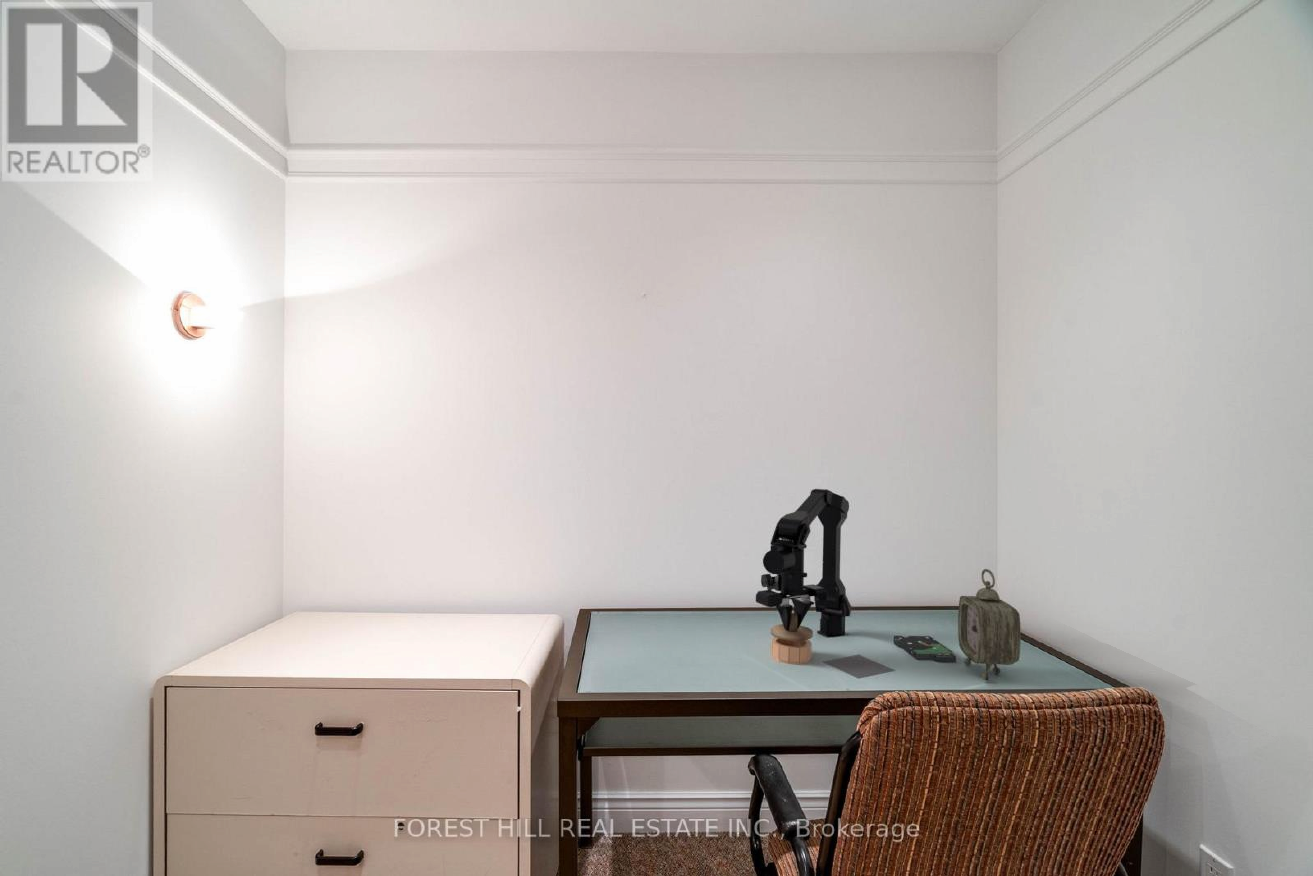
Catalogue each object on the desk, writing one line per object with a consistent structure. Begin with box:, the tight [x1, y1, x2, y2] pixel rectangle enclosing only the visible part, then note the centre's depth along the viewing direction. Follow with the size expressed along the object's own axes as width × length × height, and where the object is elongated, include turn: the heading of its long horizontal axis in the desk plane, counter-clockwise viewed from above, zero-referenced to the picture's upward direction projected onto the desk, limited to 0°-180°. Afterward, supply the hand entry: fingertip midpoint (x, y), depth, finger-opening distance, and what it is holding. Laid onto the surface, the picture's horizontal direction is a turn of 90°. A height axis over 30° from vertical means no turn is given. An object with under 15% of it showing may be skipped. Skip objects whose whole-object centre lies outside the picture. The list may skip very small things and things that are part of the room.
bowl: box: [770, 636, 813, 665], centre depth 162 cm, size 10×10×4 cm
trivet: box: [822, 654, 896, 679], centre depth 156 cm, size 12×12×1 cm
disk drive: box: [893, 635, 957, 663], centre depth 168 cm, size 10×3×15 cm
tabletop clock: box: [957, 568, 1021, 682], centre depth 154 cm, size 14×9×25 cm, turn 174°
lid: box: [770, 612, 814, 641], centre depth 162 cm, size 10×10×5 cm
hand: (791, 629), depth 162 cm, fingers closed on lid, 3 cm apart
